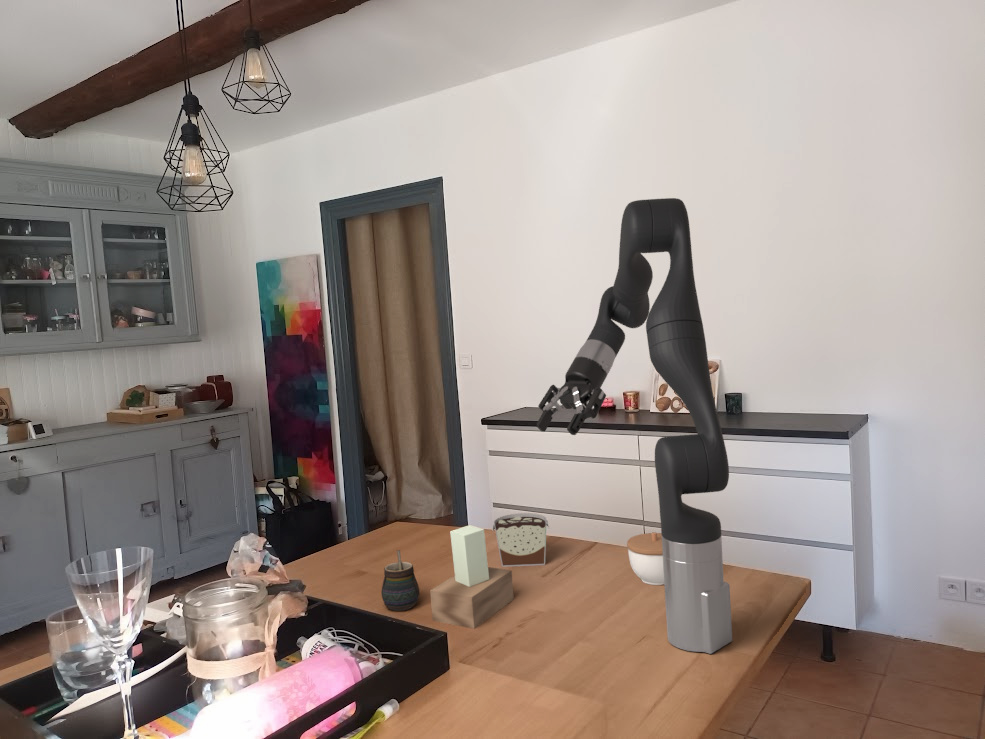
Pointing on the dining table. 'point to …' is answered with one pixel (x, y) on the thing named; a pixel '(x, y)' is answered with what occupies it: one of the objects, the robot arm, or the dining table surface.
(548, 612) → the dining table surface
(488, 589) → the walnut block
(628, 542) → the lidded jar
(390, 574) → the mate gourd
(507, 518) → the food container
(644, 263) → the robot arm
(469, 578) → the sage block
